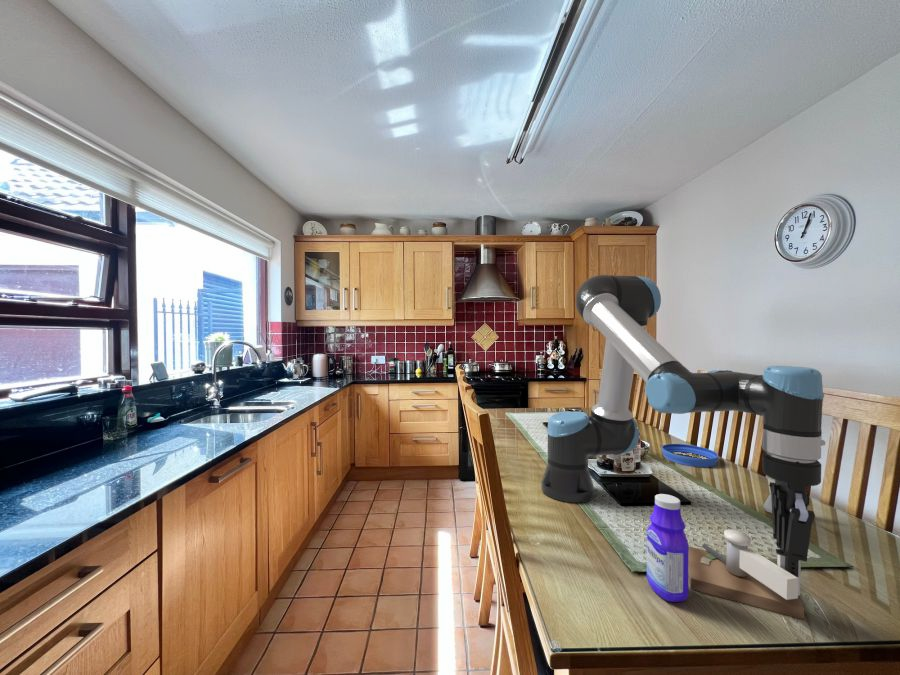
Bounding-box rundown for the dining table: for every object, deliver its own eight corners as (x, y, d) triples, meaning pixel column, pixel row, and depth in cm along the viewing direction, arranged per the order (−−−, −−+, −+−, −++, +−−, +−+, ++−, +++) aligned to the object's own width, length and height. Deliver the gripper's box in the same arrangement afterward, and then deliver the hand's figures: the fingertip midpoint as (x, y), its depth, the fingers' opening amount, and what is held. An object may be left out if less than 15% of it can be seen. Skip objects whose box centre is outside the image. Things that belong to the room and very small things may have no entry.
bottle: (640, 579, 72) (641, 490, 72) (667, 577, 73) (669, 489, 73) (664, 606, 65) (666, 508, 65) (695, 604, 66) (696, 507, 65)
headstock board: (690, 588, 70) (690, 577, 70) (684, 554, 80) (684, 544, 80) (803, 619, 62) (803, 606, 62) (779, 577, 73) (780, 566, 73)
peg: (695, 549, 78) (695, 516, 78) (711, 547, 79) (712, 514, 79) (781, 611, 61) (782, 569, 61) (802, 608, 62) (803, 566, 62)
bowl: (730, 468, 132) (730, 459, 132) (679, 468, 132) (679, 458, 132) (697, 452, 150) (697, 443, 150) (652, 451, 150) (652, 443, 150)
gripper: (838, 472, 57) (834, 624, 57) (804, 448, 68) (802, 575, 69) (775, 464, 60) (772, 607, 61) (753, 442, 72) (751, 563, 72)
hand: (788, 590), depth 65 cm, fingers closed
